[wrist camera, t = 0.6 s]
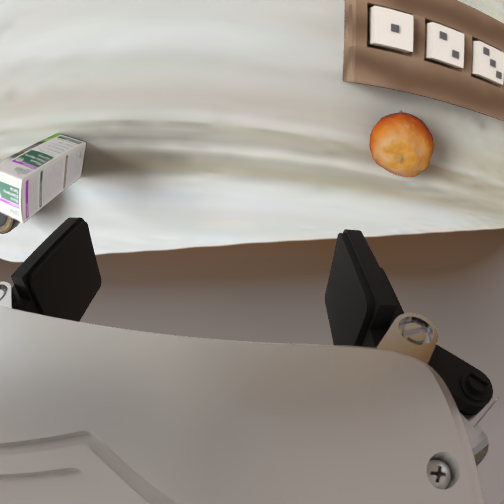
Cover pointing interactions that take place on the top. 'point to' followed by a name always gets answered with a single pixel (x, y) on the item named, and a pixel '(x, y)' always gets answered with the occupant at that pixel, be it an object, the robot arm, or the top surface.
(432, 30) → the button
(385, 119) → the fruit
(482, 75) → the button
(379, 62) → the wooden slot board
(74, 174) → the syrup box
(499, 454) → the robot arm
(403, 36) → the button
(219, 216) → the top surface
